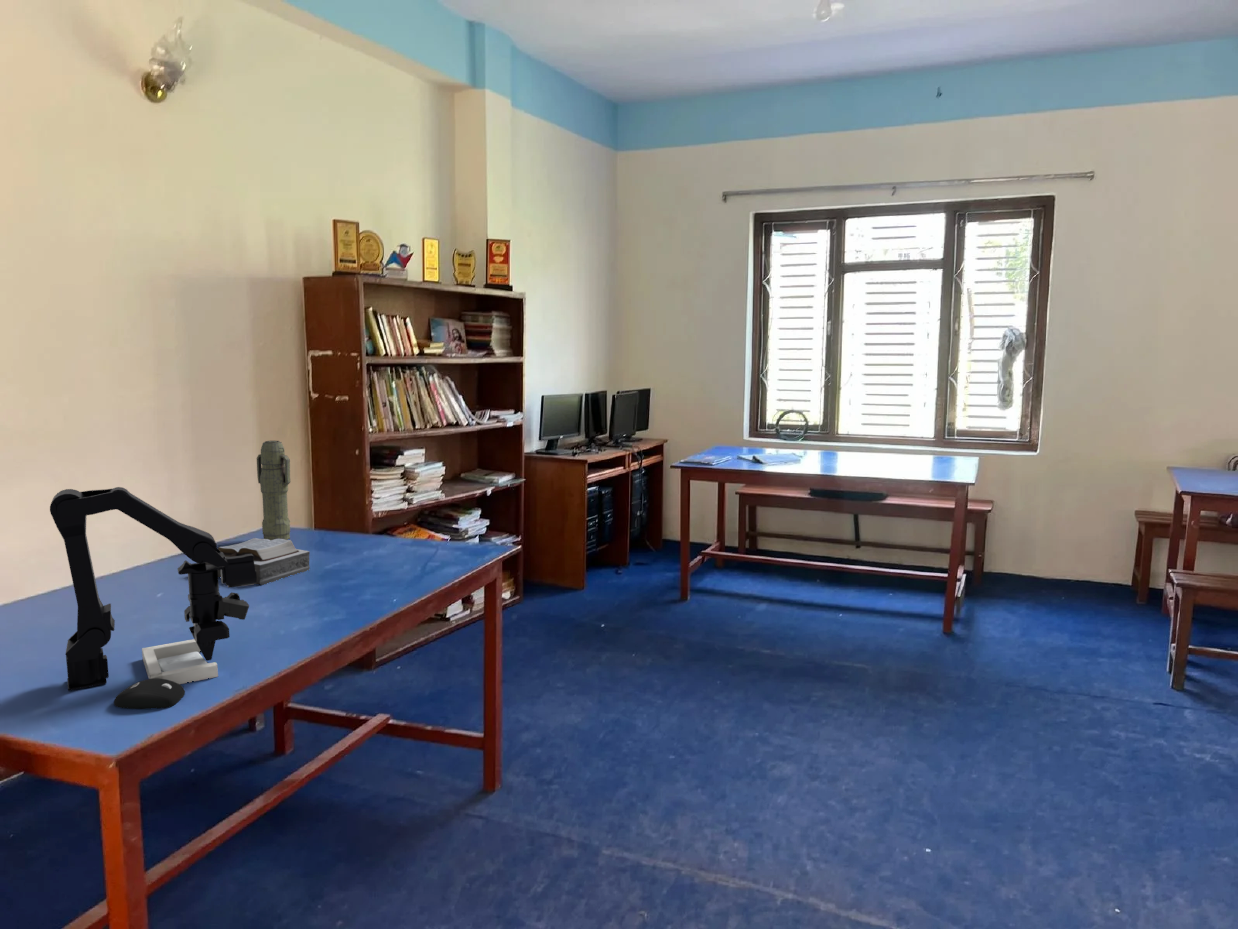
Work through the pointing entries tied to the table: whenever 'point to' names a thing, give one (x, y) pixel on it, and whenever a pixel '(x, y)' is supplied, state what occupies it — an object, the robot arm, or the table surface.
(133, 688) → the computer mouse
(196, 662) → the external hard drive
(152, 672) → the dock
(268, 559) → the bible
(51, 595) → the table surface
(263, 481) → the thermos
